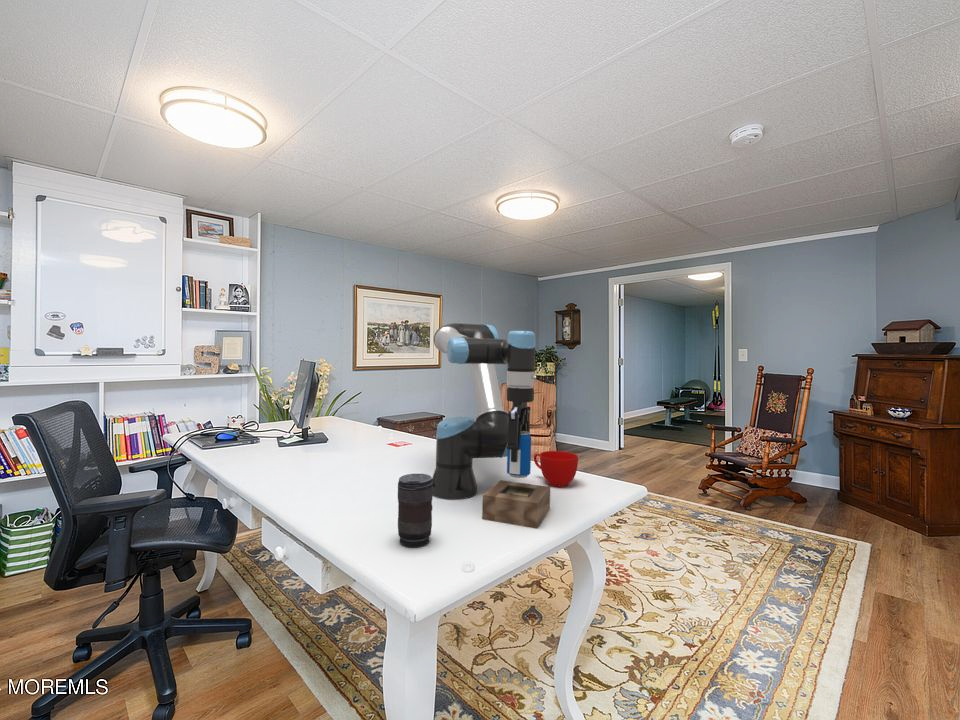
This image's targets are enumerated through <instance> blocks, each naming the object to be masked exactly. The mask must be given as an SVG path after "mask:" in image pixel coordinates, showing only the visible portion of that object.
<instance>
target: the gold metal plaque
mask: <svg viewBox="0 0 960 720" xmlns="http://www.w3.org/2000/svg"><path fill="white" fill-rule="evenodd" d="M505 493H506V494H512V495H519V496H526V497H527V496H528V495H529V494H530V493H531V492H527V491H520V490H513V489H509V490H507V491H506V492H505Z"/></svg>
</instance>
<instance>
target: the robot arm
mask: <svg viewBox="0 0 960 720" xmlns="http://www.w3.org/2000/svg"><path fill="white" fill-rule="evenodd" d="M507 334H508V335H507V338H500V337H499V332H498V331H497V328H495V326H494V325H491V324H486V323H479V324H475V323H458V322H453V323H448V324H444V325H442V326H441V327H439V328H437V329H436V331H435V332H434V334H433V344H434V346H435V348H436V349H437V350H438V351H440V352H441V353H442V354H446V355H447V360H448V362H449V363H451V364H458V365H463V364H470V368H471V375H472V379H473V381H472V382H473V386H474V391H475V394H474V395H475V399H476V405H477V410H478V416H476V418H475V420H474V418H473V417H472V416H455V417H450V418H445V419H443V420H441V421H439V422H438V424H437V425H436V426H437V427H436V435H435V438H436V444H435V445H436V447H435V448H436V449H435V450H436V451H435V456H436V457H435V468H434V472H433V475H432V476H431V477H432V482H433V497H437V498H439V499H446V500H462V499H468V498H471V497H474V496H476V495H477V494H478V483H477V479H476V476H475V472H474V469H473V459H486V458H487V459H488V458H489V459H490V458H491V459H495V458H498V459H499V458H500V459H502V458H507V449H510V472H509V473H512V474H520V450H519V446H520V437H521V431H528V432H530V430H531V429H530V428H531V426H530V425H531V424H530V423H531V420H530V418H531V417H530V416H531V406H528V403H533V402H534V400H535V389H534V386H535V380H536V379H537V375H535V364H536V362H535V361H536V346H537V344H536V334H535V332H533V331H531V330H510V331H509V332H508V333H507ZM495 365H506V366H507V367H506V368H507V369H506V386H508V387H507V388H506V401H508V402H512V407H511V408H510V410H508V411H506V410H504V404H503V400H502V399H503V398H502V396H501V395H502V394H501V391H500V386H499V381H498V377H497V370H496V367H495ZM530 433H531V432H530Z"/></svg>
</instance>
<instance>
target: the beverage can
mask: <svg viewBox="0 0 960 720" xmlns="http://www.w3.org/2000/svg"><path fill="white" fill-rule="evenodd" d="M519 450H520V474H512V473H509V472H510V449H507V457H506V473H507V474H508V475H509V477H511V478H516V479H525V478H527V477H528V476H529V475H531V463H532V462H531V459H532V457H531V456H532V436H531V432H528V431H521V437H520V446H519Z"/></svg>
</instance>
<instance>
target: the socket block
mask: <svg viewBox="0 0 960 720" xmlns="http://www.w3.org/2000/svg"><path fill="white" fill-rule="evenodd" d="M509 489H513V490H520V491H527V492H531V493H530V494H529V495H528V496H527V497H526V496H519V495H512V494H506V493H505V492H506V491H507V490H509ZM550 505H551V486H547V485H546V486H545V485H539V484H532V483H531V484H530V483H525V482H524V483H523V482H516V481H510V480H509V481H508V480H499V481H498V482H497V483H495V484H494V485H493V486H492V487H491V488H489V489H488V490H487V491H486V492H484V493H483V494H482V506H481V507H482V508H481V509H482V511H481V512H482V513H481V514H482V515H481V519H482V520H484V521H491V522H498V523H502V524H503V523H504V524H509V525H515V526H519V527H520V526H521V527H525V528H531V529H532V528H533V529H539V527H540V524H542V522H543V520H544V519H545V518H546V516H547V514H548V513H549V511H550V510H551V506H550Z"/></svg>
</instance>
